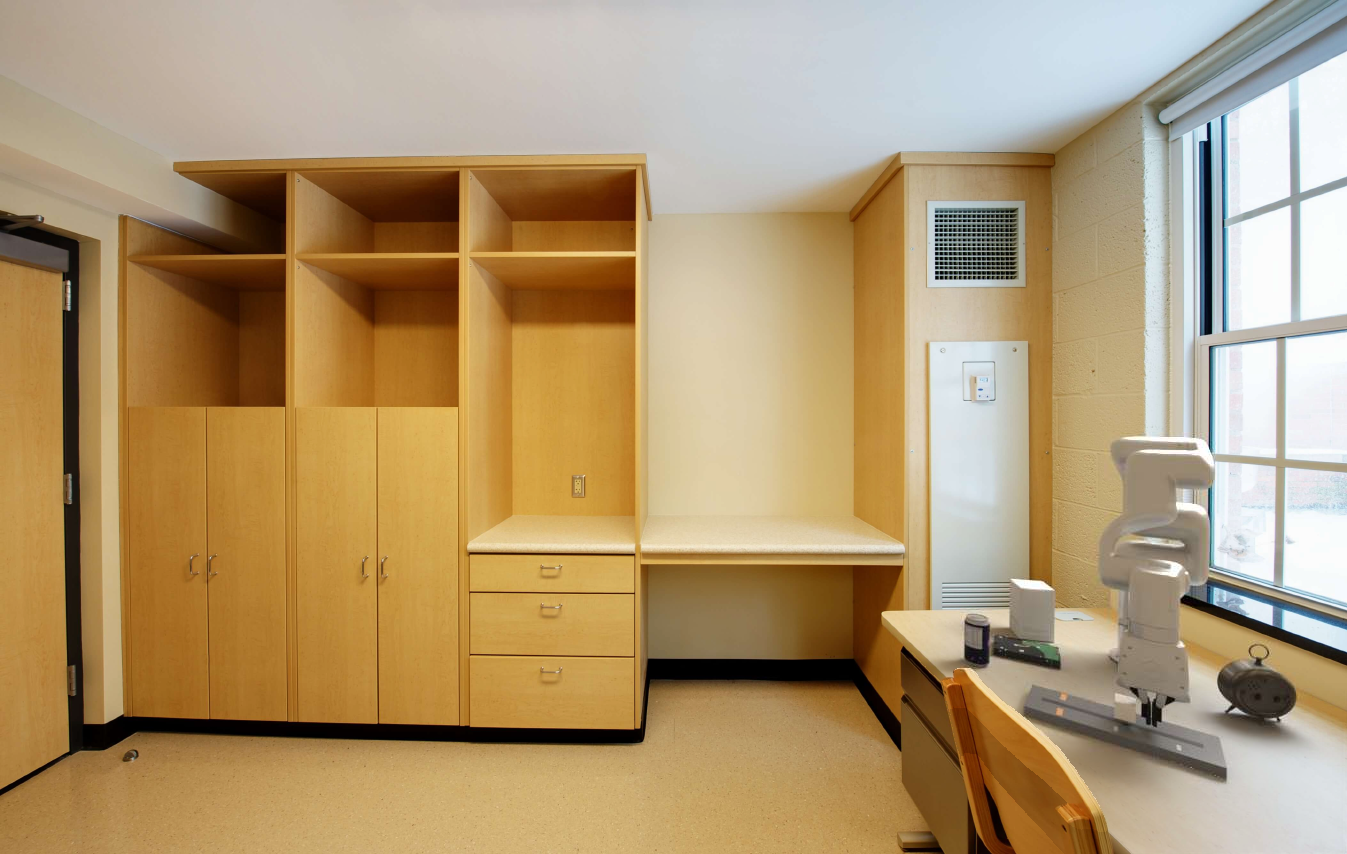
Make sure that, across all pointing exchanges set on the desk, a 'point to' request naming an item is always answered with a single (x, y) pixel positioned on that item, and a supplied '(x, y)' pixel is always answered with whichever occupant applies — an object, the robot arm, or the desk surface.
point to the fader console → (1128, 730)
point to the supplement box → (1032, 610)
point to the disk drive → (1027, 651)
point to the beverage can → (976, 640)
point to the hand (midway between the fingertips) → (1151, 722)
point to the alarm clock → (1256, 688)
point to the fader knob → (1125, 708)
